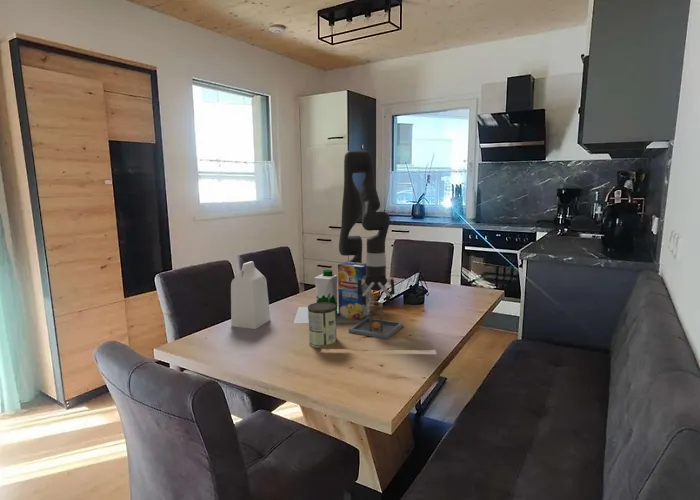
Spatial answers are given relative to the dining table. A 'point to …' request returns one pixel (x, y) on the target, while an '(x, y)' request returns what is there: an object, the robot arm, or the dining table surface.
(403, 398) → the dining table surface
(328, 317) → the coffee can
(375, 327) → the ball
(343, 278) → the juice carton
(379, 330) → the tray
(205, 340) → the dining table surface
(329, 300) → the milk carton
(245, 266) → the milk
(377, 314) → the wooden stool
